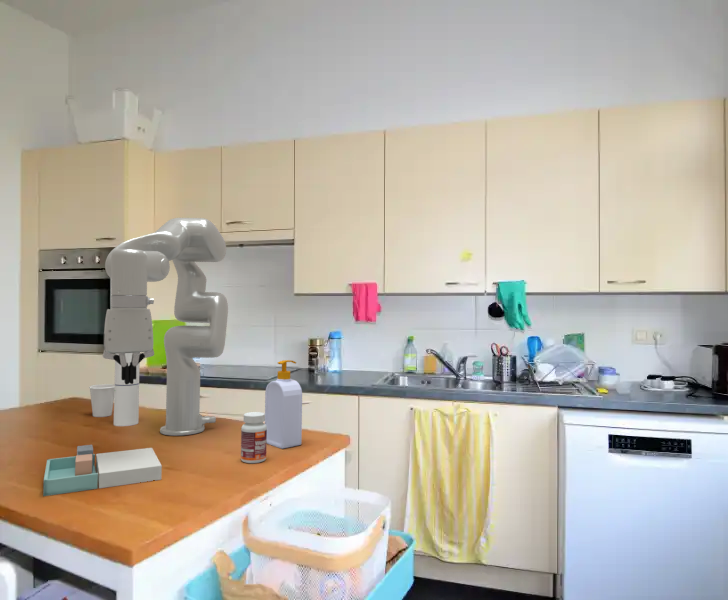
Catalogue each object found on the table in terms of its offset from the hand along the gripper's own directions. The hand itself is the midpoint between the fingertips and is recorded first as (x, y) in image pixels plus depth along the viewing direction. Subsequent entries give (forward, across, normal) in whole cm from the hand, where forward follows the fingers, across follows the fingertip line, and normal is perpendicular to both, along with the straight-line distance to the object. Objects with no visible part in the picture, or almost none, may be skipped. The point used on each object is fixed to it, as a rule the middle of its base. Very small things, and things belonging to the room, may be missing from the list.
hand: (128, 382), depth 118 cm
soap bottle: (+21, -40, -4) cm, 45 cm away
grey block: (+16, +7, -1) cm, 18 cm away
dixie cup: (+22, +2, -66) cm, 70 cm away
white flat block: (+20, 0, +4) cm, 20 cm away
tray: (+19, +12, +4) cm, 23 cm away
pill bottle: (+20, -27, +7) cm, 35 cm away
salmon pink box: (+16, +8, +8) cm, 20 cm away
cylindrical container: (+22, -4, -49) cm, 54 cm away
